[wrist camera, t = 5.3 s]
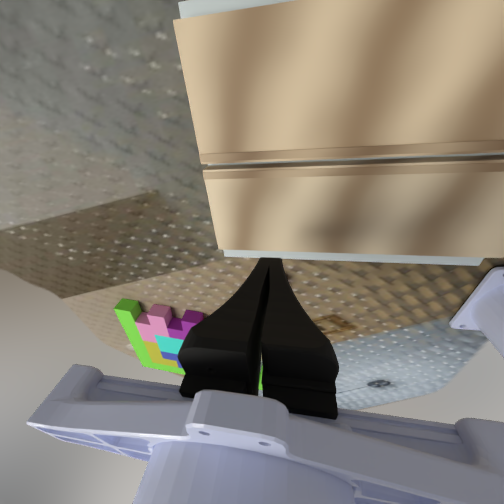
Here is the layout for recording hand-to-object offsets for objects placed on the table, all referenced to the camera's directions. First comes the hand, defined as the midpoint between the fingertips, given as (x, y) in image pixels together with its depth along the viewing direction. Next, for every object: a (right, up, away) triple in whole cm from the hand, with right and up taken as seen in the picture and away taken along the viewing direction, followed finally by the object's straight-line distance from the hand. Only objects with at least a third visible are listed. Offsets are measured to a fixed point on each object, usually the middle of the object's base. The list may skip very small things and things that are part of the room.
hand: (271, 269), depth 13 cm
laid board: (+6, +11, -1) cm, 12 cm away
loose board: (+7, +5, +3) cm, 8 cm away
